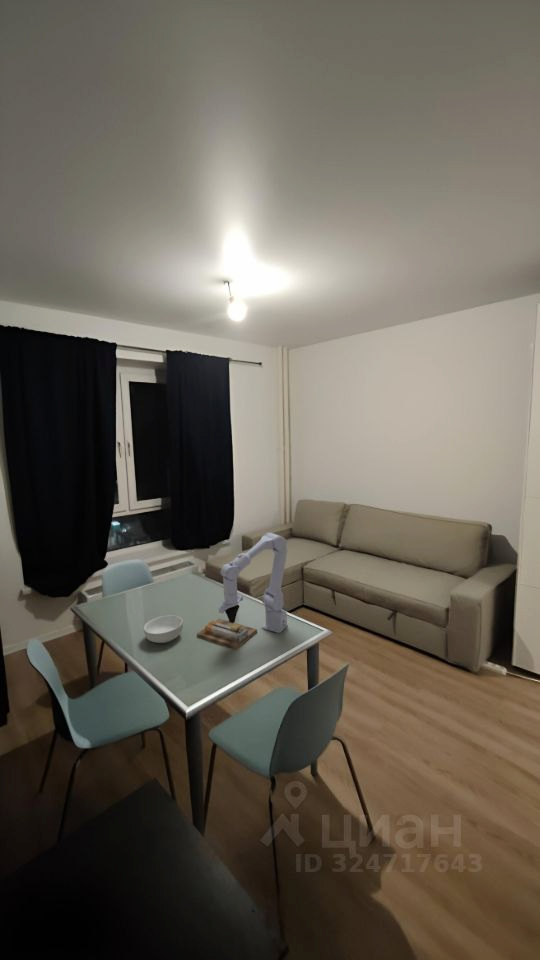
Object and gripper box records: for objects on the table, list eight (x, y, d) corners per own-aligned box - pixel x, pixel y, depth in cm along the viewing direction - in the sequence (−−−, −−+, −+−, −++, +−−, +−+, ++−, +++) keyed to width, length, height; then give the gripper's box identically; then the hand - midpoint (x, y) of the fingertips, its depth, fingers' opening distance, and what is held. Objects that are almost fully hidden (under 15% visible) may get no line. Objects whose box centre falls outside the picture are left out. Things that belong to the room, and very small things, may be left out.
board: (257, 632, 174) (256, 629, 174) (235, 649, 161) (235, 646, 160) (219, 621, 186) (219, 618, 186) (196, 636, 172) (196, 633, 172)
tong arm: (243, 636, 168) (243, 629, 168) (240, 638, 166) (240, 632, 166) (212, 626, 178) (212, 620, 177) (208, 629, 176) (208, 622, 175)
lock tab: (241, 627, 169) (241, 625, 169) (236, 630, 166) (236, 628, 166) (235, 625, 171) (235, 623, 171) (230, 629, 168) (230, 627, 168)
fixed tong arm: (248, 635, 169) (247, 629, 168) (238, 643, 163) (238, 636, 162) (215, 625, 178) (215, 619, 178) (205, 632, 173) (205, 626, 172)
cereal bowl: (169, 625, 184) (168, 611, 183) (191, 636, 173) (190, 621, 172) (137, 640, 171) (136, 625, 170) (159, 653, 160) (158, 637, 159)
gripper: (233, 584, 173) (234, 613, 174) (212, 596, 160) (214, 627, 162) (246, 587, 169) (247, 616, 171) (225, 600, 157) (227, 631, 158)
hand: (232, 622), depth 166 cm, fingers closed
